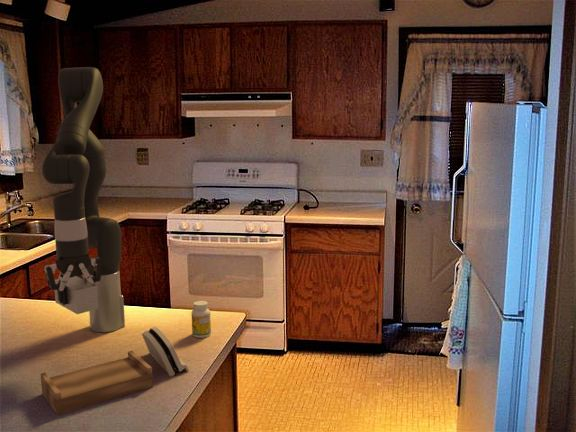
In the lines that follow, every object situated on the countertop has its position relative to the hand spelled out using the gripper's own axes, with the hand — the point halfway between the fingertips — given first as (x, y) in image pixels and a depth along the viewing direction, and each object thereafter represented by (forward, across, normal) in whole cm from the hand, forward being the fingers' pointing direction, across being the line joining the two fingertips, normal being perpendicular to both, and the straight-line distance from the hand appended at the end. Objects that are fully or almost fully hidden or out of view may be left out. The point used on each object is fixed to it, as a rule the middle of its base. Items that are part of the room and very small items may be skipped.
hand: (76, 301), depth 154 cm
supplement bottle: (+18, -35, 0) cm, 39 cm away
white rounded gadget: (+18, -18, +11) cm, 27 cm away
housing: (+1, 0, 0) cm, 1 cm away
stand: (+17, +1, +16) cm, 24 cm away
